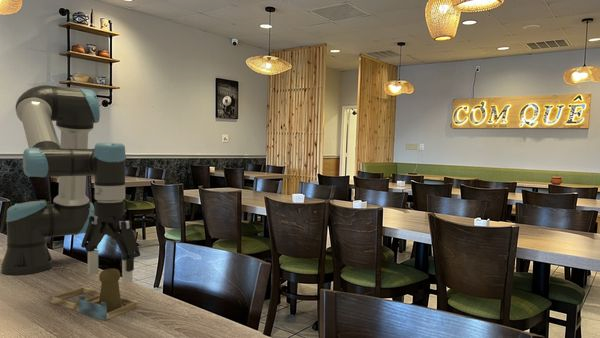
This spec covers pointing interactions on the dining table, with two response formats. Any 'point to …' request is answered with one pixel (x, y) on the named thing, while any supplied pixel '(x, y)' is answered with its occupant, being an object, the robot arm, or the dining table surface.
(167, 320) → the dining table surface
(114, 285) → the cork
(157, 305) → the dining table surface
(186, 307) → the dining table surface
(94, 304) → the caddy
